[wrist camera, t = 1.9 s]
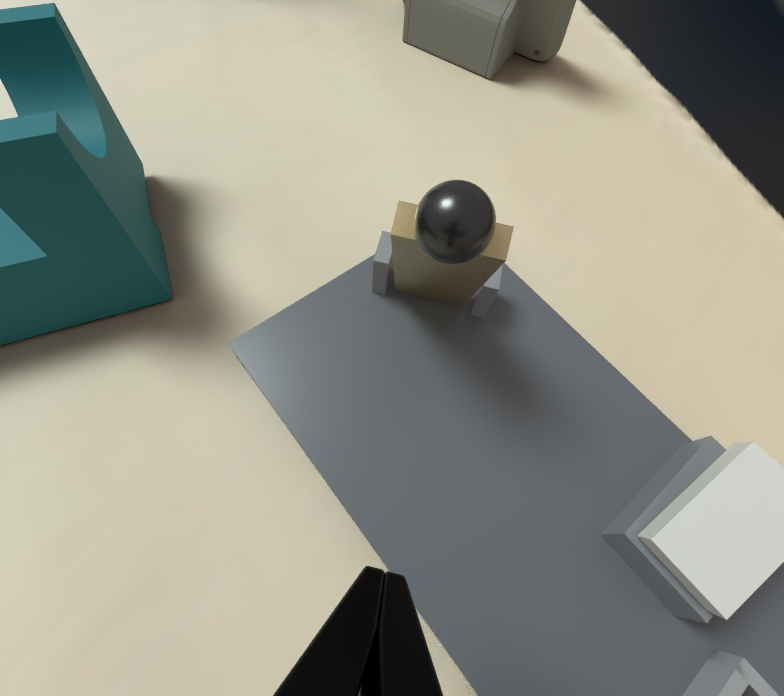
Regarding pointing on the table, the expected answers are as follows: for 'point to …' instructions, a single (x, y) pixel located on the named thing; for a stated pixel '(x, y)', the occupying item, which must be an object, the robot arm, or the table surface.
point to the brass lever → (447, 243)
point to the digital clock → (487, 30)
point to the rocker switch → (724, 529)
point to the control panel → (509, 487)
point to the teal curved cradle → (67, 190)
